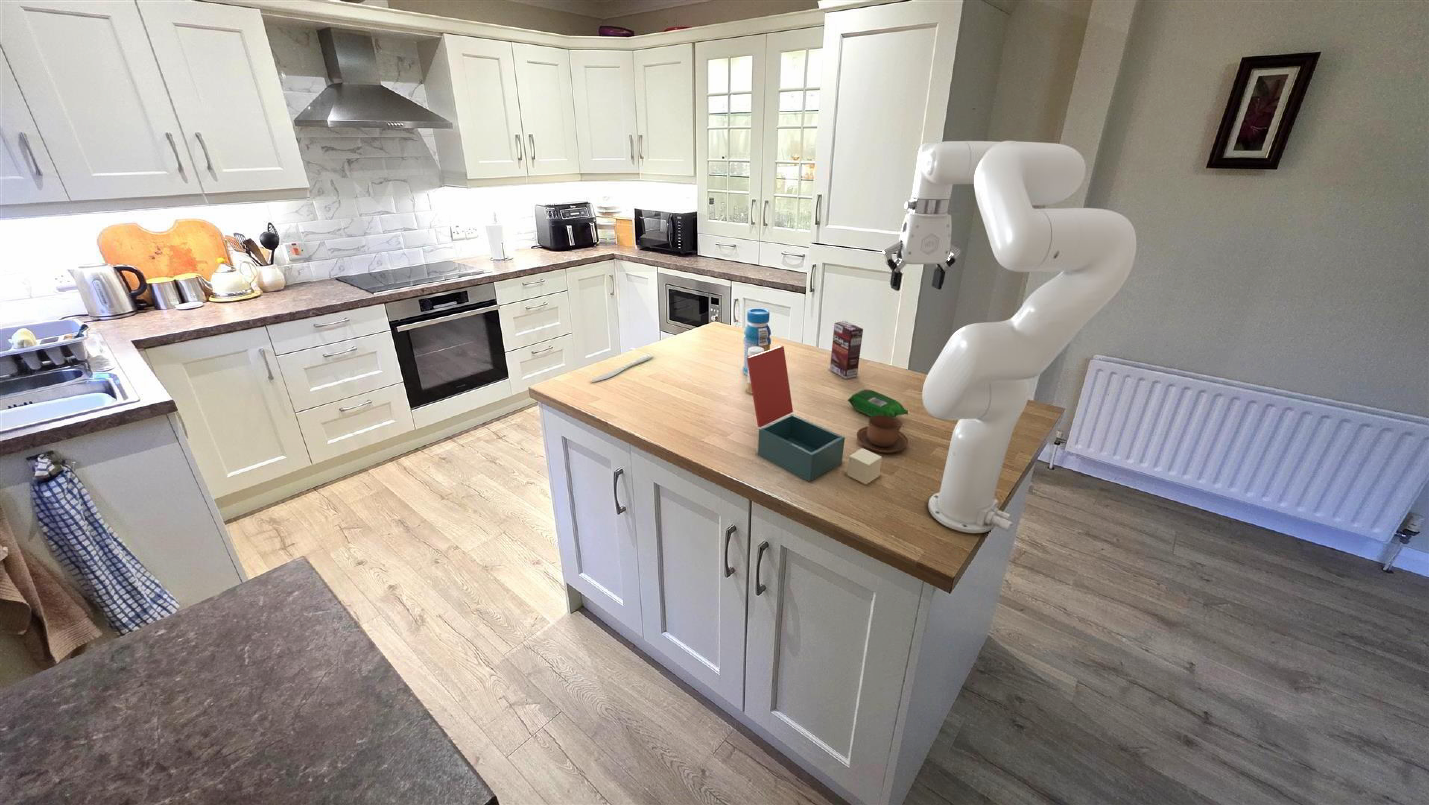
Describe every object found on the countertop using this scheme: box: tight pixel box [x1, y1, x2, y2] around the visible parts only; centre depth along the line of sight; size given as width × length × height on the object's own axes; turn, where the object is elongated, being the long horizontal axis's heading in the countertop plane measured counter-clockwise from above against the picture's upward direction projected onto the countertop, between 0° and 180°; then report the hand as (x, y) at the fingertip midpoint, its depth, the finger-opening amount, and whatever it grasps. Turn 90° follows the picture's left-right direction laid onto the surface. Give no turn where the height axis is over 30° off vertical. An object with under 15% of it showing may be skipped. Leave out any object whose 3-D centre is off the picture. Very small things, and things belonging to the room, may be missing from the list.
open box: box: [757, 413, 846, 483], centre depth 126 cm, size 16×12×7 cm
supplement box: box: [829, 320, 864, 380], centre depth 170 cm, size 9×5×16 cm, turn 25°
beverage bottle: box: [742, 307, 772, 376], centre depth 170 cm, size 8×8×20 cm
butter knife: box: [590, 355, 654, 383], centre depth 176 cm, size 1×27×3 cm
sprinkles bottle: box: [746, 346, 764, 395], centre depth 158 cm, size 5×5×13 cm
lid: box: [747, 345, 794, 428], centre depth 127 cm, size 16×12×1 cm
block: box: [846, 447, 883, 485], centre depth 120 cm, size 5×5×5 cm
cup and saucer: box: [856, 415, 909, 454], centre depth 132 cm, size 12×12×6 cm
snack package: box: [847, 388, 909, 419], centre depth 147 cm, size 7×16×5 cm, turn 35°
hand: (915, 288), depth 122 cm, fingers open, 9 cm apart
